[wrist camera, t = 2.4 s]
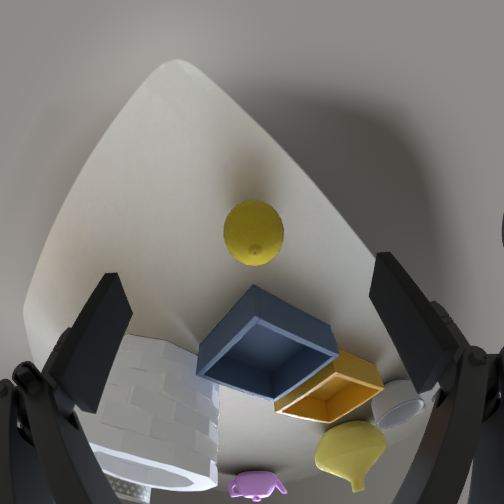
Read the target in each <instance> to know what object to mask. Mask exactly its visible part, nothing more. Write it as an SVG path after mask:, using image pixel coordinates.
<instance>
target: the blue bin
mask: <svg viewBox="0 0 504 504" xmlns="http://www.w3.org/2000/svg"><path fill="white" fill-rule="evenodd" d="M339 355H340V354H339V351H338V348H337V345H336V341H335V338H334V335H333V333H332V330H331V327H330V325H328V324H326V323H324V322H322V321H320V320H318V319H316V318H314V317H312V316H311V315H309V314H307V313H305V312H303V311H301V310H299V309H297V308H295V307H294V306H292V305H290V304H288V303H286V302H284V301H282V300H281V299H279V298H277V297H275V296H273V295H271V294H269V293H268V292H266V291H264V290H262V289H260V288H258V287H257V286H255V285H252V286H251V287H250V288H249V289H248V291H247V292H246V293H245V294H244V295H243V296H242V298H241V299H240V300H239V301H238V302H237V303H236V304H235V306H234V307H233V308H232V309H231V310H230V311H229V312H228V314H227V315H226V316H225V317H224V318H223V319H222V320H221V321H220V323H219V324H218V325H217V326H216V327H215V328H214V329H213V330H212V332H211V333H210V334H209V335H208V336H207V337H206V338H205V339H204V341H203V342H202V343H201V344H200V345H199V352H198V359H197V367H196V375H197V376H199V377H202V378H204V379H207V380H209V381H212V382H215V383H218V384H220V385H223V386H226V387H229V388H232V389H235V390H238V391H241V392H244V393H247V394H250V395H253V396H256V397H260V398H263V399H266V400H270V401H273V402H276V401H277V400H279V399H280V398H282V397H283V396H285V395H286V394H288V393H289V392H291V391H292V390H294V389H295V388H296V387H298V386H299V385H301V384H302V383H303V382H305V381H306V380H308V379H309V378H310V377H312V376H313V375H314V374H316V373H317V372H318V371H320V370H321V369H322V368H324V367H325V366H326V365H328V364H329V363H330V362H332V361H333V360H334V359H335V358H337V357H338V356H339Z"/></svg>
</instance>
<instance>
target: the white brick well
mask: <svg viewBox="0 0 504 504" xmlns="http://www.w3.org/2000/svg"><path fill="white" fill-rule="evenodd" d="M197 359H198V356H196V355H194V354H192V353H190V352H188V351H186V350H184V349H182V348H180V347H178V346H176V345H174V344H172V343H170V342H168V341H165V340H158V339H152V338H146V337H140V336H135V335H129V334H126V335H124V336H123V339H122V341H121V344H120V347H119V349H118V352H117V354H116V357H115V360H114V362H113V365H112V368H111V371H110V373H109V376H108V379H107V382H106V385H105V388H104V391H103V394H102V397H101V400H100V403H99V406H98V409H97V412H96V414H92V413H88V412H83V411H81V410H80V409H79V408H78V406H77V405H76V404H75V407H74V409H73V410H74V411H75V412H76V414H77V416H78V419H79V421H80V424H81V426H82V428H83V431H84V433H85V435H86V438H87V440H88V442H89V444H90V447H91V449H92V451H93V453H94V455H95V457H96V459H97V461H98V463H99V465H100V467H101V469H102V471H103V472H104V473H106V474H109V475H111V476H113V477H116V478H119V479H122V480H125V481H129V482H132V483H136V484H140V485H143V486H147V487H153V488H160V489H166V490H174V491H204V490H207V489H210V488H212V487H215V486H217V467H216V466H215V465H216V463H217V451H218V450H219V433H218V431H217V425H218V419H219V414H220V402H219V399H218V394H219V384H218V383H215V382H212V381H209V380H207V379H204V378H202V377H199V376H197V375H196V367H197Z"/></svg>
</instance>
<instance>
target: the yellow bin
mask: <svg viewBox="0 0 504 504" xmlns="http://www.w3.org/2000/svg"><path fill="white" fill-rule="evenodd" d="M338 351H339V354H340V355H339V356H338V357H337V358H335V359H334V360H333V361H332V362H330V363H329V364H328V365H326V366H325V367H324V368H322V369H321V370H320V371H318V372H317V373H316V374H314V375H313V376H312V377H310V378H309V379H308V380H306V381H305V382H303V383H302V384H301V385H299V386H298V387H296V388H295V389H294V390H292V391H291V392H289V393H288V394H286V395H285V396H283V397H282V398H280V399H279V400H277V401H276V402H274V406H275V413H279V414H283V415H287V416H292V417H296V418H301V419H306V420H311V421H316V422H321V423H327V424H330V423H332V422H334V421H336V420H337V419H339V418H341V417H342V416H344V415H346V414H347V413H349V412H351V411H352V410H354V409H356V408H357V407H359V406H360V405H362V404H363V403H365V402H366V401H368V400H369V399H371V398H372V397H374V396H375V395H377V394H378V393H380V392H381V391H383V390H384V389H385V387H384V384H383V382H382V379H381V377H380V374H379V371H378V369H377V366H376V365H375V364H373V363H370V362H368V361H366V360H363V359H361V358H359V357H356V356H354V355H352V354H350V353H347V352H345V351H343V350H341V349H339V348H338Z"/></svg>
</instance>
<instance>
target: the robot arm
mask: <svg viewBox="0 0 504 504" xmlns="http://www.w3.org/2000/svg"><path fill="white" fill-rule="evenodd" d="M369 298H370V300H371V301H372V303H373V305H374V307H375V309H376V311H377V312H378V314H379V316H380V318H381V320H382V322H383V324H384V326H385V328H386V330H387V332H388V333H389V335H390V337H391V339H392V341H393V343H394V345H395V347H396V349H397V351H398V353H399V356H400V358H401V360H402V362H403V364H404V366H405V368H406V370H407V372H408V375H409V377H410V379H411V381H412V383H413V386H414V388H415V390H416V392H417V394H420V393H423V392H426V391H429V390H432V388H433V387H434V386H435V384H436V383H437V381H438V383H439V385H440V388H439V390H438V391H437V392H436V394H435V395H434V396H433V398H432V400H431V402H433V401H434V400H435V403H434V406H433V409H432V412H431V416H430V419H429V421H428V424H427V427H426V430H425V433H424V436H423V438H422V441H421V443H420V446H419V448H418V451H417V453H416V455H415V458H414V460H413V462H412V465H411V467H410V469H409V471H408V473H407V475H406V477H405V479H404V481H403V483H402V485H401V487H400V489H399V491H398V493H397V495H396V496H395V498H394V500H393V502H392V504H457V502H458V500H459V497H460V495H461V492H462V490H463V487H464V484H465V481H466V478H467V476H468V473H469V470H470V466H471V463H472V460H473V467H472V476H471V485H470V491H469V497H468V502H467V504H504V347H503V348H502V349H501V351H500V353H499V354H486V352H485V351H484V350H483V349H482V348H479V347H477V346H470V345H469V343H468V341H467V340H466V339H465V337H464V335H463V334H462V333H461V331H460V330H459V328H458V327H457V325H456V324H455V323H454V322H453V320H452V318H451V317H449V314H448V313H447V312H446V310H445V309H444V308H443V307H442V306H441V305H440V304H438V303H437V302H436V301H432V302H429V301H428V299H427V298H426V297H425V296H424V294H423V293H422V292H421V290H420V289H419V287H418V286H417V285H416V284H415V282H414V281H413V280H412V278H411V277H410V276H409V275H408V273H407V272H406V271H405V270H404V268H403V267H402V266H401V265H400V263H399V262H398V261H397V260H396V259H395V257H394V256H393V255H392V254H391V253H390V252H381V253H377V256H376V261H375V267H374V272H373V277H372V282H371V287H370V292H369ZM132 314H133V312H132V310H131V307H130V305H129V302H128V300H127V297H126V295H125V292H124V289H123V287H122V284H121V281H120V279H119V276H118V273H105V274H104V276H103V277H102V279H101V280H100V282H99V283H98V285H97V286H96V288H95V290H94V291H93V293H92V294H91V296H90V298H89V299H88V301H87V302H86V304H85V306H84V307H83V309H82V311H81V312H80V314H79V316H78V317H77V319H76V321H75V323H74V324H73V326H72V328H69V327H68V328H67V329H66V330H65V331H64V332H63V333H62V334H61V336H60V338H59V339H58V341H57V345H55V347H54V349H53V351H52V352H51V354H50V356H49V358H48V360H47V362H46V364H45V366H44V368H43V370H42V372H41V373H40V372H39V370H38V369H37V368H36V366H35V365H34V364H33V363H31V362H30V361H25V362H22V363H21V364H19V365H18V366H17V367H16V368H15V369H14V372H13V374H12V380H13V381H14V382H15V383H16V384H17V385H18V386H14V384H13V383H12V382H11V381H10V380H8V379H3V380H1V381H0V504H122V503H121V502H120V500H119V498H118V497H117V495H116V493H115V492H114V490H113V488H112V487H111V485H110V483H109V482H108V480H107V478H106V476H105V474H104V473H103V471H102V469H101V467H100V465H99V463H98V461H97V459H96V457H95V455H94V453H93V451H92V449H91V447H90V444H89V442H88V440H87V438H86V435H85V433H84V431H83V428H82V426H81V424H80V421H79V419H78V416H77V414H76V412H75V411H74V410H73V409H74V407H75V404H76V405H77V406H78V408H79V409H80V410H81V411H83V412H88V413H92V414H96V412H97V409H98V406H99V403H100V400H101V397H102V394H103V391H104V388H105V385H106V382H107V379H108V376H109V373H110V371H111V368H112V365H113V362H114V360H115V357H116V354H117V352H118V349H119V347H120V344H121V341H122V339H123V336H124V334H125V331H126V329H127V326H128V324H129V322H130V319H131V317H132ZM499 392H500V393H501V398H500V394H499ZM435 398H436V399H435ZM17 421H18V422H19V423H20V428H18V427H17Z"/></svg>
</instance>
